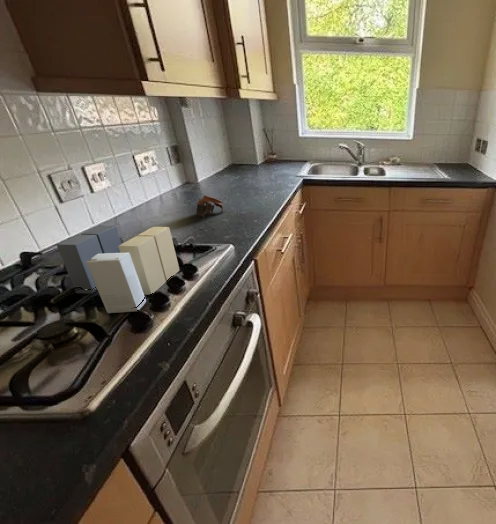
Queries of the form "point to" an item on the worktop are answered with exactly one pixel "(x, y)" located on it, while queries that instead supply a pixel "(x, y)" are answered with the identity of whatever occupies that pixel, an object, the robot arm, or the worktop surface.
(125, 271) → the cosmetic box
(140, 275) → the cream boxes
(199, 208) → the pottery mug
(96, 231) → the grey books
